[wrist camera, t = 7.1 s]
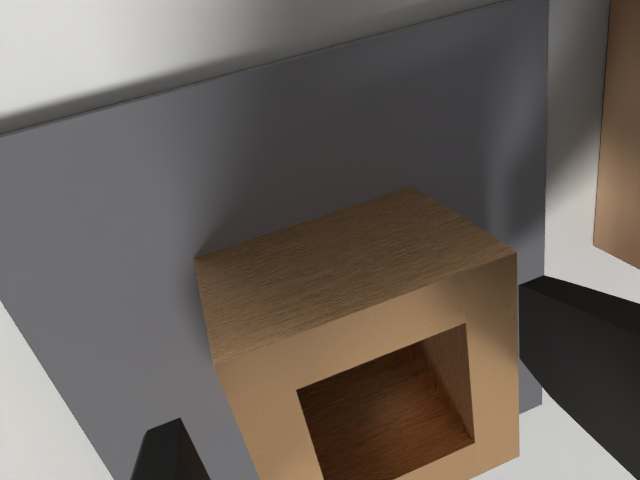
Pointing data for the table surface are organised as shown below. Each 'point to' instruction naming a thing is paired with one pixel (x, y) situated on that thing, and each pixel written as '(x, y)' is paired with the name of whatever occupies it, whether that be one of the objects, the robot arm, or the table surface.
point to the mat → (254, 203)
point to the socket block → (620, 139)
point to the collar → (369, 343)
